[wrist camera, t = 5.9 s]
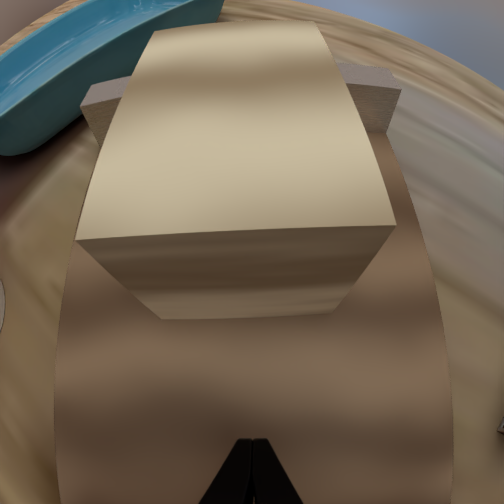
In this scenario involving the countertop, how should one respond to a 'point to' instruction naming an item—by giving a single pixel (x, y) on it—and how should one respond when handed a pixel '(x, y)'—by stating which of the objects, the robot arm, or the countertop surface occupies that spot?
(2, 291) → the cylindrical container
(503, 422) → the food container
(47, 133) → the casserole dish
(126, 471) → the walnut board
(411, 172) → the countertop surface
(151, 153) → the maple block
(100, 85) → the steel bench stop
